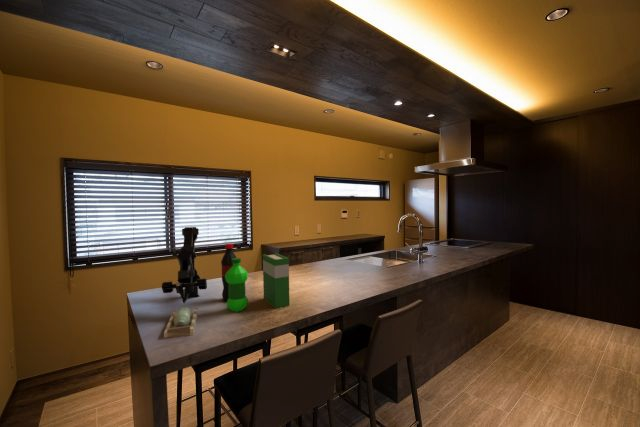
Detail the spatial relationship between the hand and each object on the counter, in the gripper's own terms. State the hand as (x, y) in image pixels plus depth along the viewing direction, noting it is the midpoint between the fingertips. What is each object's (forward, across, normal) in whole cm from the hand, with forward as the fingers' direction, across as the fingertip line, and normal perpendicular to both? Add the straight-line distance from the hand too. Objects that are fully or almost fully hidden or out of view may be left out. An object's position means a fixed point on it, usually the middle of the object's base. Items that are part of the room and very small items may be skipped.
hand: (184, 302), depth 131 cm
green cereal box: (0, +43, +11) cm, 44 cm away
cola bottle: (-9, +20, +20) cm, 30 cm away
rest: (+10, 0, +1) cm, 10 cm away
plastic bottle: (+3, +23, +8) cm, 25 cm away
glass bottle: (+4, 0, +2) cm, 5 cm away
